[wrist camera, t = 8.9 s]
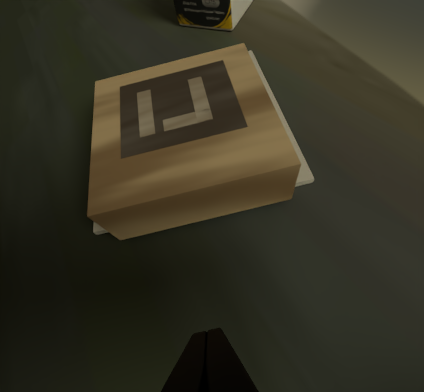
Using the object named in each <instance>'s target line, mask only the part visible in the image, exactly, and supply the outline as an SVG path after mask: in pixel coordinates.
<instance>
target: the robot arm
mask: <svg viewBox="0 0 424 392" xmlns="http://www.w3.org/2000/svg"><path fill="white" fill-rule="evenodd" d="M161 392H259V391H258V390H257V388H256V386H255V385H254V383H253V381H252V380H251V378H250V376H249V375H248V373H247V371H246V370H245V368H244V366H243V364H242V363H241V361H240V359H239V358H238V356H237V354H236V353H235V351H234V349H233V348H232V346H231V344H230V343H229V341H228V339H227V337H226V336H225V334H224V332H223V331H222V329H221V328H216V329H211V330H208V332H206V331H203V332H198V333H195V334H193V335H192V336H191V338H190V340H189V342H188V344H187V345H186V347H185V349H184V351H183V353H182V354H181V356H180V358H179V360H178V362H177V363H176V365H175V367H174V369H173V371H172V372H171V374H170V376H169V378H168V380H167V381H166V383H165V385H164V387H163V389H162V390H161Z"/></svg>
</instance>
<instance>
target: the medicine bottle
mask: <svg viewBox="0 0 424 392" xmlns="http://www.w3.org/2000/svg"><path fill="white" fill-rule="evenodd" d="M252 1H253V0H174V5H175V9H176V13H177V17H178V21H179V24H180V25H181V26H189V27H198V28H206V29H215V30H224V31H232V30H233V29H234V27H235V26H236V25H237V23H238V22H239V20H240V19H241V17H242V16H243V14H244V13H245V11H246V10H247V9H248V7H249V6H250V4H251V3H252Z"/></svg>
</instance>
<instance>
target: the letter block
mask: <svg viewBox="0 0 424 392" xmlns="http://www.w3.org/2000/svg"><path fill="white" fill-rule="evenodd" d="M300 167H301V162H300V160H299V158H298V156H297V154H296V152H295V150H294V147H293V145H292V143H291V141H290V139H289V137H288V135H287V133H286V131H285V128H284V126H283V124H282V122H281V120H280V118H279V116H278V114H277V112H276V109H275V107H274V105H273V103H272V101H271V99H270V97H269V95H268V93H267V91H266V88H265V86H264V84H263V82H262V80H261V78H260V76H259V74H258V72H257V69H256V67H255V65H254V63H253V61H252V59H251V57H250V55H249V53H248V50H247V48H246V46H245V44H244V43H242V44H238V45H234V46H231V47H227V48H223V49H219V50H215V51H211V52H207V53H204V54H200V55H196V56H192V57H188V58H184V59H180V60H177V61H173V62H169V63H165V64H161V65H157V66H154V67H150V68H146V69H142V70H138V71H134V72H130V73H127V74H123V75H119V76H115V77H111V78H107V79H103V80H100V81H96V82H95V96H94V113H93V129H92V145H91V161H90V178H89V194H88V210H87V217H88V218H90V219H91V220H93V221H94V222H95V223H97V224H98V225H100V226H101V227H102V228H104V229H105V230H107V231H108V232H109V233H111V234H112V235H113V236H115V237H116V238H118V239H119V240H124V239H128V238H132V237H136V236H141V235H145V234H149V233H153V232H157V231H161V230H165V229H169V228H174V227H178V226H182V225H186V224H190V223H194V222H198V221H203V220H207V219H211V218H215V217H219V216H223V215H227V214H231V213H236V212H240V211H244V210H248V209H252V208H256V207H260V206H264V205H269V204H273V203H277V202H281V201H285V200H289V199H292V195H293V192H294V188H295V185H296V181H297V177H298V174H299V170H300Z"/></svg>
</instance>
